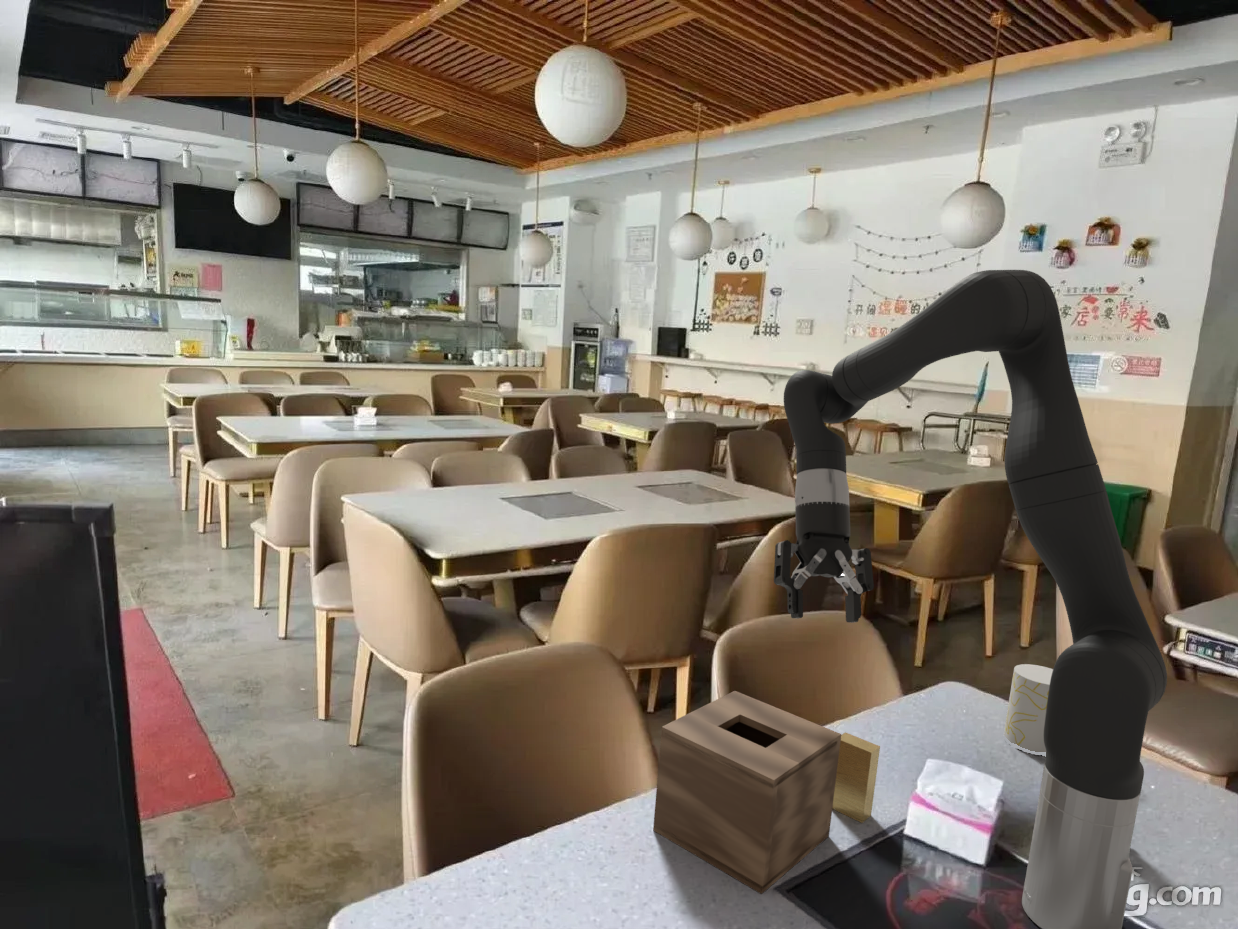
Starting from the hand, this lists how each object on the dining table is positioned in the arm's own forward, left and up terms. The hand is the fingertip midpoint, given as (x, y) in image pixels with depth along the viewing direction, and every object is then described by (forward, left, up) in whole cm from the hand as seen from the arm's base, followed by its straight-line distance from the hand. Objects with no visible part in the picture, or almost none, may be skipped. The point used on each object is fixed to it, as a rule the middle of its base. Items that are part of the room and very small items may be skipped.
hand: (825, 620), depth 112 cm
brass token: (-6, +4, -24) cm, 26 cm away
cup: (-31, -31, -25) cm, 51 cm away
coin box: (+6, +16, -24) cm, 30 cm away
